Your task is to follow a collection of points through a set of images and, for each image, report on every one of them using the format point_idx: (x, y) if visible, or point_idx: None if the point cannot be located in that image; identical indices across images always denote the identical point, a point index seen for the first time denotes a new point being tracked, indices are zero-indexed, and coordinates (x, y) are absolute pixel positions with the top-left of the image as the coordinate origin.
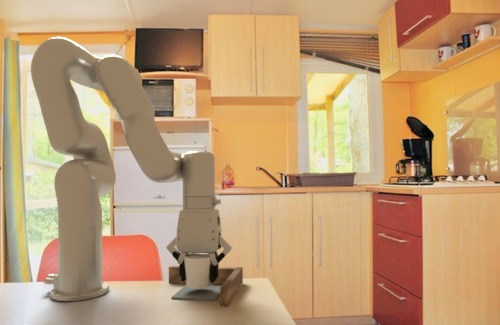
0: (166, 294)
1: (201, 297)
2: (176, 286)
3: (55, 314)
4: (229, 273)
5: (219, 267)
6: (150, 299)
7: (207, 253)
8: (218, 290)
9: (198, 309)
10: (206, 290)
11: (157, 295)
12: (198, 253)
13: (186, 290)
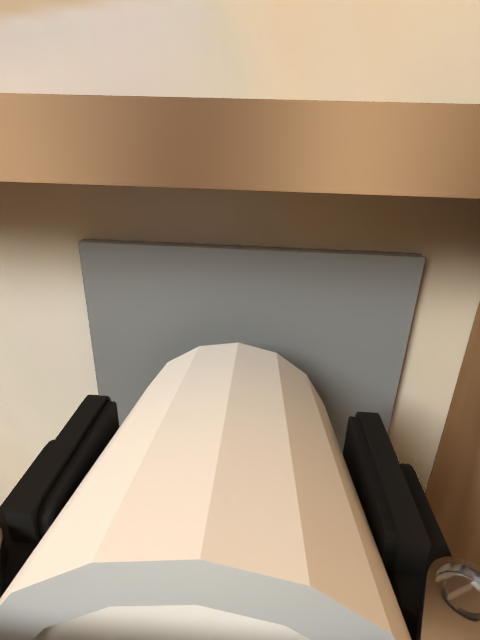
0: (45, 421)
1: None
2: (14, 258)
3: None
4: None
5: (398, 125)
6: (10, 492)
7: (303, 627)
8: (374, 374)
9: None
10: None
11: (5, 438)
12: (136, 624)
13: (146, 388)
